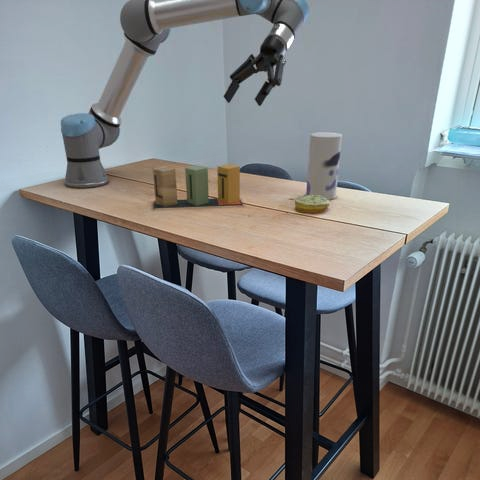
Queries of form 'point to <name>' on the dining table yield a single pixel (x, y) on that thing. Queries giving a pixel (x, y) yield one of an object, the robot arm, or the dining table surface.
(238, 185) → the tall mustard brick
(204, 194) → the sage I block
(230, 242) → the dining table surface
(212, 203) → the word mat
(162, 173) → the tan tall block
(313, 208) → the decorated donut
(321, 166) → the container
